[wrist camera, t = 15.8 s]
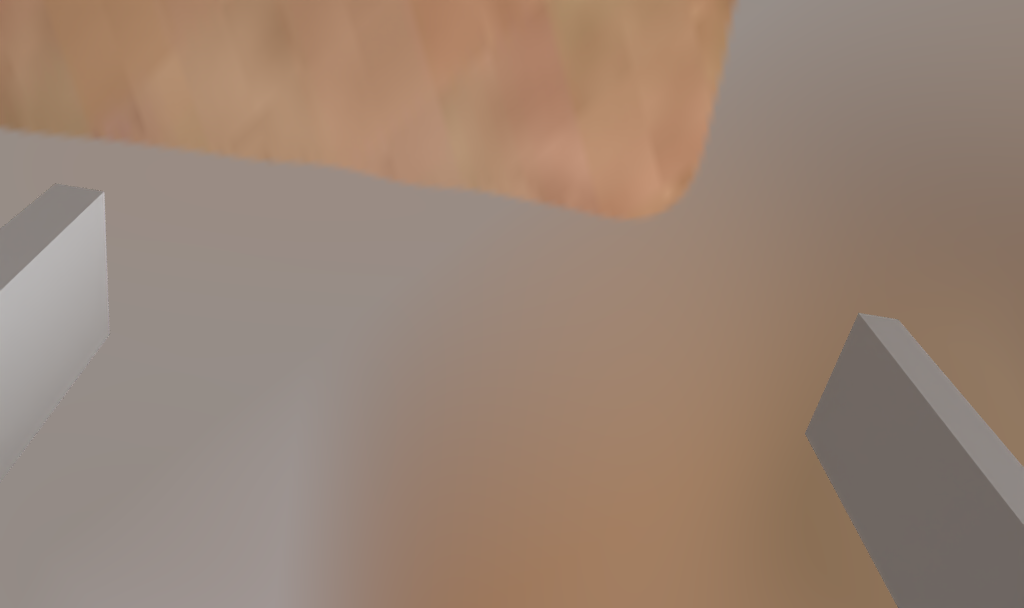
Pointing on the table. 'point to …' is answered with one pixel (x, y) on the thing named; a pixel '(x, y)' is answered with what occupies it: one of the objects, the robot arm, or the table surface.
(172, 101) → the table surface
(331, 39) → the table surface
